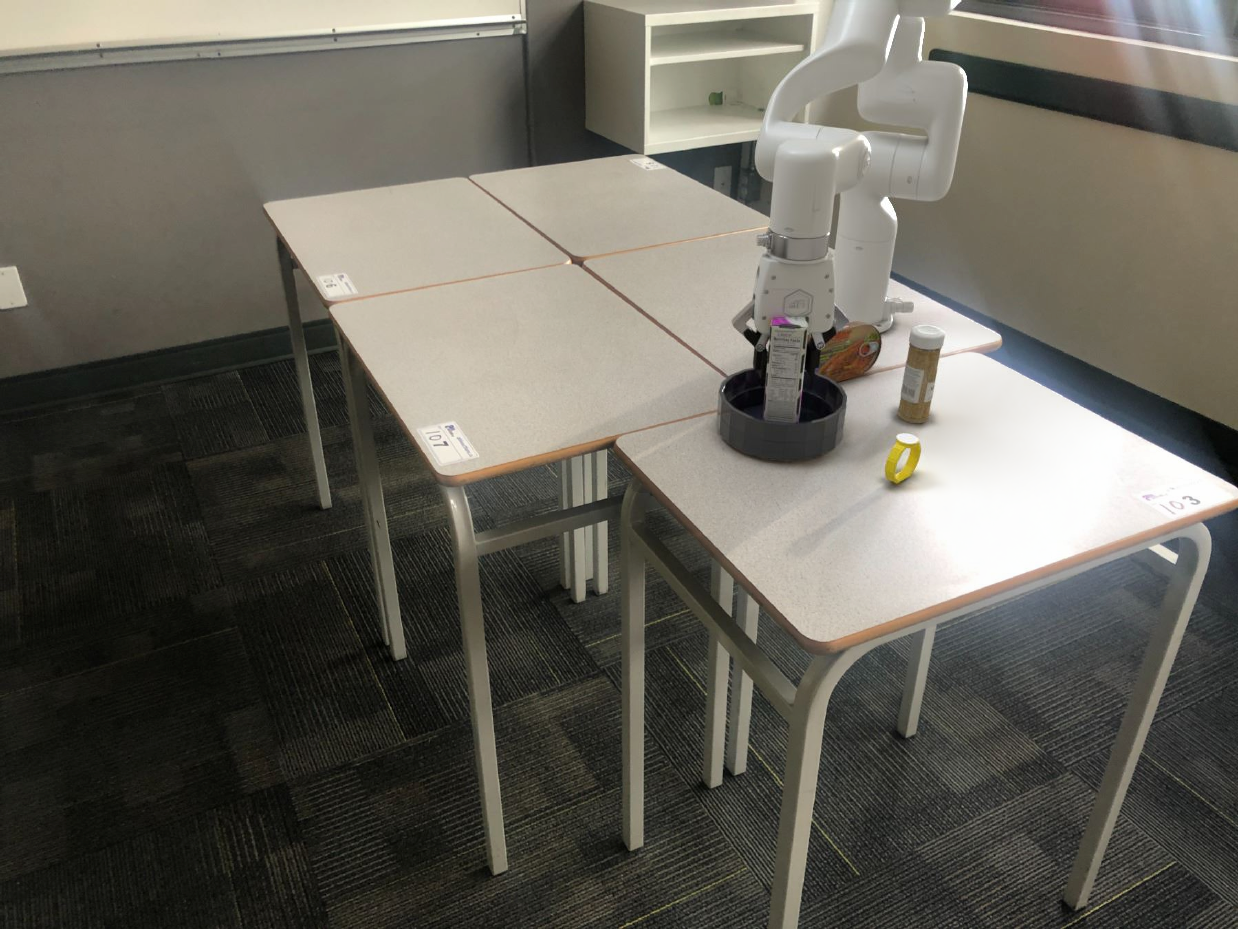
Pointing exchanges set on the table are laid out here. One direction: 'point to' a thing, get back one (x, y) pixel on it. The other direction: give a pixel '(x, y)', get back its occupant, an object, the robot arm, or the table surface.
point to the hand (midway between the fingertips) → (785, 372)
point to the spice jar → (920, 373)
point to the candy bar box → (785, 368)
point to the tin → (850, 351)
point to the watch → (895, 454)
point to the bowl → (779, 439)
